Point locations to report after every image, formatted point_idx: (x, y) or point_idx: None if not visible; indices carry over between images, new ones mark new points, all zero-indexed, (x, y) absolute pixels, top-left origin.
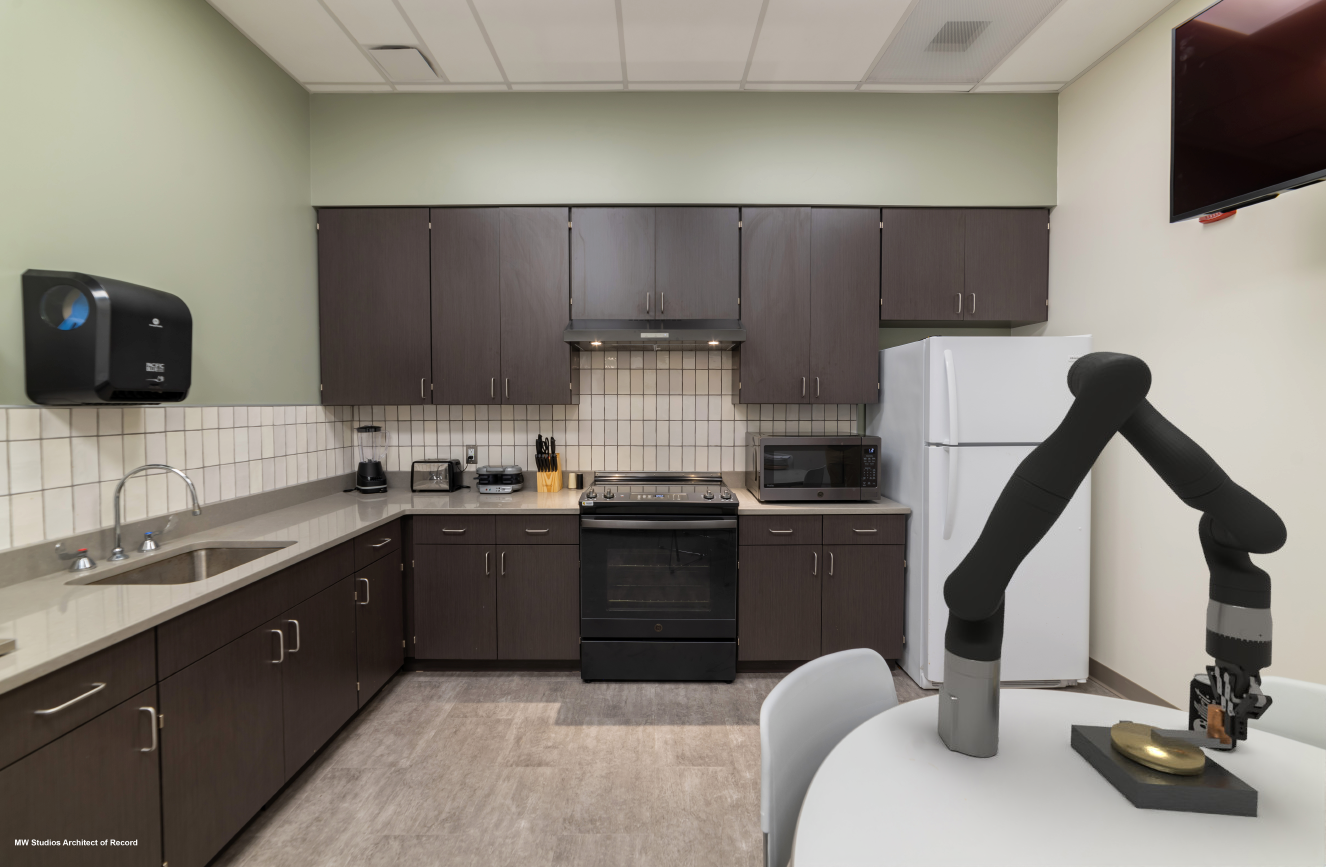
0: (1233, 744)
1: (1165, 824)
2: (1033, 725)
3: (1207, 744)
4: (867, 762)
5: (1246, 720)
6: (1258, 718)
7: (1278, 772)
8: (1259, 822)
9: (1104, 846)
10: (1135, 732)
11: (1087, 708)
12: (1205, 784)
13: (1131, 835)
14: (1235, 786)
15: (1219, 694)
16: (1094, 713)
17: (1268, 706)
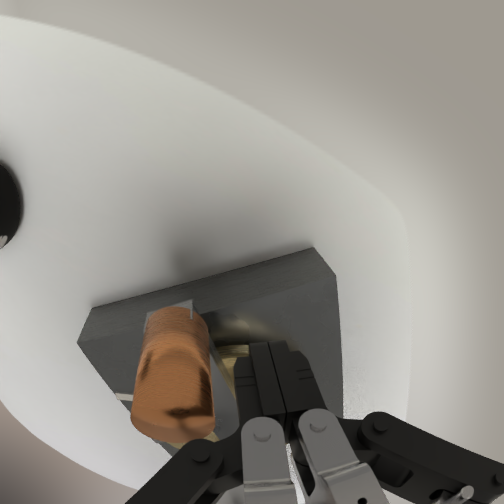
0: (2, 175)
1: (360, 370)
2: (135, 446)
3: (220, 360)
4: (301, 498)
5: (325, 409)
6: (393, 417)
7: (66, 99)
8: (330, 250)
9: (396, 408)
10: (210, 439)
11: (7, 371)
12: (330, 355)
13: (381, 394)
14: (326, 311)
15: (217, 500)
16: (17, 369)
17: (483, 458)
